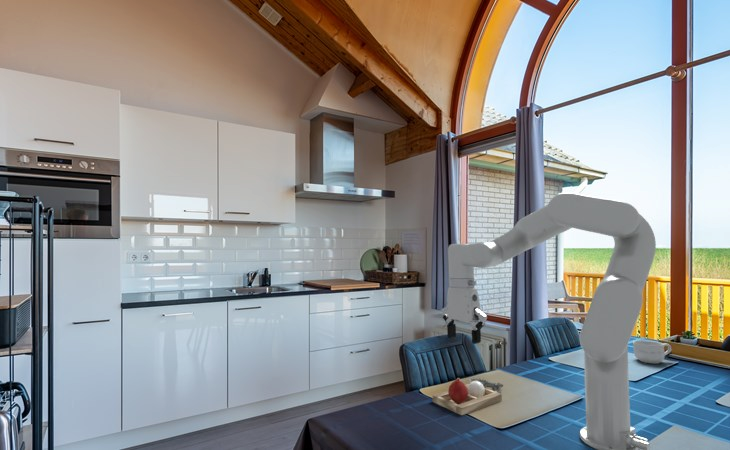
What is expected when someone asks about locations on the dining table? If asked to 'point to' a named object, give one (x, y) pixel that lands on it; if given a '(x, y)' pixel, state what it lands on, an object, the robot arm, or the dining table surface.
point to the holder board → (467, 401)
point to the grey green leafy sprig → (489, 384)
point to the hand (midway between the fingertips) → (463, 340)
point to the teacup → (650, 351)
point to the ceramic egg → (476, 389)
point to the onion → (458, 391)
